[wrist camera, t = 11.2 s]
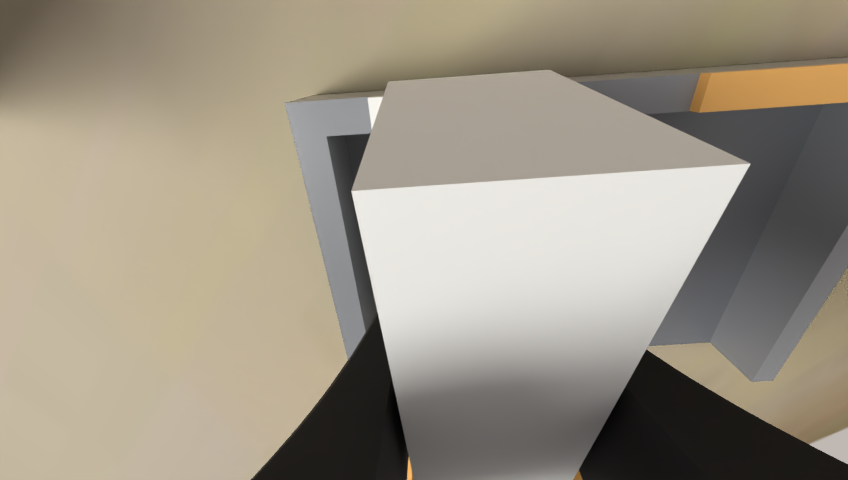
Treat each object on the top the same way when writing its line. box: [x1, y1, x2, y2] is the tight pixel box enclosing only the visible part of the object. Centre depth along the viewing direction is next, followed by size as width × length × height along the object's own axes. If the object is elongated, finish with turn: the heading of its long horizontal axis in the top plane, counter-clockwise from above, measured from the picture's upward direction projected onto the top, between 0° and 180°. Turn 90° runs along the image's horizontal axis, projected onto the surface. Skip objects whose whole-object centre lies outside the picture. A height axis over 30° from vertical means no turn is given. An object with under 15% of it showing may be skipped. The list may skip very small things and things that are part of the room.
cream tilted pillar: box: [351, 70, 751, 480], centre depth 7 cm, size 9×3×5 cm, turn 4°
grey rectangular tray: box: [285, 57, 848, 382], centre depth 11 cm, size 11×16×3 cm
